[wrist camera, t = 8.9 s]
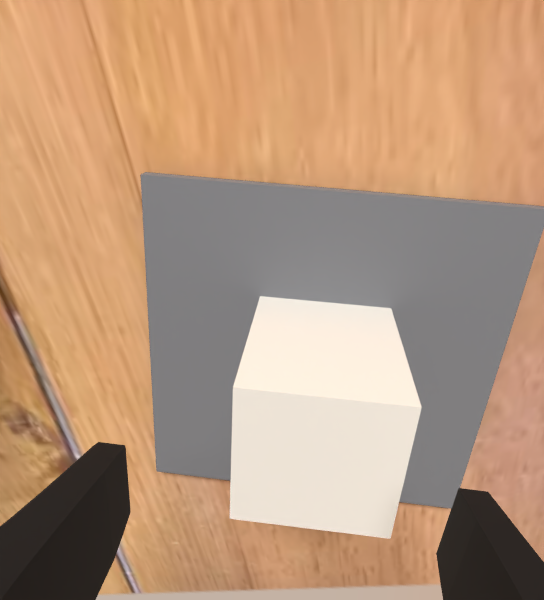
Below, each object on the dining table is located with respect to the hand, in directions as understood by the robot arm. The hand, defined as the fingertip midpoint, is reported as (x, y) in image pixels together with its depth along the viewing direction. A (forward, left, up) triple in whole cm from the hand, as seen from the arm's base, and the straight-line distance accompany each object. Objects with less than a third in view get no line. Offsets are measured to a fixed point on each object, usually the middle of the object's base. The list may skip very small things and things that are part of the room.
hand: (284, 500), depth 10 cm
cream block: (+1, -2, -9) cm, 9 cm away
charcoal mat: (+1, -2, -9) cm, 10 cm away
